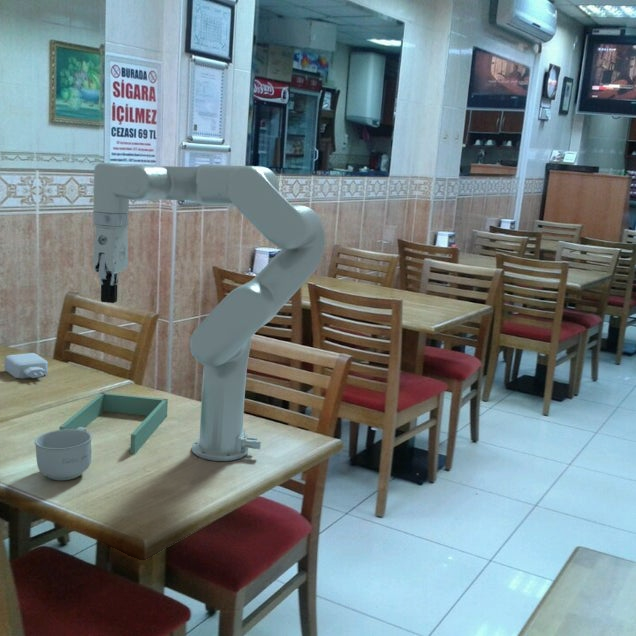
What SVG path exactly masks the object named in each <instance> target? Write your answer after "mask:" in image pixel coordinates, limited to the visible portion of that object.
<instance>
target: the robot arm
mask: <svg viewBox="0 0 636 636" xmlns="http://www.w3.org/2000/svg"><path fill="white" fill-rule="evenodd" d="M279 185H280V184H279V180H278V177H277V176H276V174H275V173H274V172H273V170H272V169H270V168H268V167H265V166H261V165H256V166H255V165H231V164H230V165H227V164H225V165H224V164H222V165H221V164H200V165H197V166H173V165H171V166H169V165H168V166H167V165H152V164H151V165H149V164H144V165H143V164H142V165H141V164H139V165H125V164H121V163H112V162H99V163H97V164H96V165H95V167H94V169H93V207H92V208H93V211H92V212H93V213H92V214H93V215H92V217H93V218H92V226H93V227H95V231H94V232H95V233H94V243H93V256H92V257H93V261H92V263H93V270H94V271H95V272H96V273H98V279H99V280H100V301H101V303H108V304H114V303H116V302H118V283H119V274H120V273H121V272H123V271H125V270H127V269H128V267H129V240H128V239H129V238H128V228H129V217H130V216H129V211H130V207H129V206H130V200H131V201H136V202H141V201H142V202H145V201H161V200H163V201H167V200H168V201H189V202H196V203H198V204H200V205H203V206H218V207H219V206H221V207H223V206H224V207H235V208H236V209H237V210H238V211H239V212H240V213H241V214H242V215H243V216H244V217H245V218H246V219H247V220H248V221H249V222H250V224H251V225H252V226H254V228H255V229H256V230H258V232H259V233H260V234H261V235H262V236H263V237H264V238H265V239H266V240H267V241H268V242H270V243H271V244H272V245H273V246H275V247H276V248H279V249H280V250H279V251H278V253H277V254H276V255H275V256H274V257H273V258H272V259H271V260H269V262H268V263H267V264H266V265H265V267H263V269H262V270H261V271H259V273H257V274H256V275H255V277H253V278H252V279H251V280H250V281H247V282H245V283H243V284H242V285H240V286H238V287H236V288H234V289H232V290H231V291H230V292H229V293H228V294H227V295H226V296H225V297H224V298H223V299H221V301H220V302H219V303H218V304H217V305H216V306H215V307H214V308H213V309H212V310H211V311H210V312H209V314H208V315H207V316H206V317H205V318H204V319H203V320H202V321H201V322H200V323H199V324H198V325H197V327H196V328H195V329H194V331H193V332H192V334H191V337H190V343H189V348H190V351H191V354H192V356H193V359H195V360H196V361H197V362H198V363H199V364H201V365H203V371H202V373H203V374H202V385H201V386H202V387H201V402H200V422H199V423H200V424H199V438H198V439H197V440H194V442H193V443H192V447H191V451H192V453H193V454H194V455H196V456H197V457H199V458H201V459H204V460H209V461H215V462H230V461H234V460H235V461H236V460H238V459H242V458H244V457H245V456H246V455H248V453H249V449H252V450H261V447H262V441H261V440H258V437H255V436H248V435H246V429H244V427H243V426H244V413H245V399H246V398H245V396H246V395H245V394H246V386H247V385H246V384H247V383H246V382H247V372H248V370H247V369H248V363H249V356H250V351H251V346H252V345H251V344H252V337H253V335H255V334H256V332H258V330H260V329H261V328H262V327H263V326H265V325H266V324H268V323H269V322H270V321H271V320H273V319H274V318H275V317H276V315H277V314H278V313H279V311H280V310H281V309H282V308H283V307H284V306H285V305H286V304H287V303H288V301H290V299H292V297H294V295H295V294H296V293H297V292H298V291H299V289H300V288H301V287H302V286H303V285H305V283H306V282H307V280H308V279H309V278H310V277H311V276H312V274H314V272H315V270H317V268H318V266H319V264H320V263H321V260H322V258H323V256H324V251H325V246H326V232H325V227H324V224H323V222H322V219H321V218H320V216H319V215H318V214H317V212H316V211H315V210H314V209H312V208H310V207H308V206H304V205H292V204H291V203H290V202H289V201H288V200H287V199H286V198H285V197H284V196H283V195H282V194H281V192H279V191H280V189H279V188H280V186H279Z"/></svg>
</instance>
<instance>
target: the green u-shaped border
mask: <svg viewBox="0 0 636 636" xmlns="http://www.w3.org/2000/svg"><path fill="white" fill-rule="evenodd" d="M168 401H169V399H167V398H158V397H157V398H156V397H149V396H148V397H147V396H138V395H129V394H119V393H109V392H108V393H107V392H100V393H99V394H98V395H97V396H95V397H94V398H93V399H92V400H91V401H89V402H88V403H87V404H86V405H85V406H83V407H82V408H81V409H79V410H78V411H77V412H75V414H74V415H73V414H72V416H70V417H69V418H68V419H67V420H66V421H65V422H63V423H62V424H60V426H59V429H58V430H63V429H77V428H79V427H84V428H86V427H88V426H89V425H90V424H91V423H92V422H93V421H95V419H97V418H98V417H99V416H100V415H101V414H102V413H103V412H108V413H118V414H119V413H120V414H125V415H126V414H129V415H137V416H146V418H145V419H144V420H143V421H141V423H140V424H139V425H138V426H137V427H136V428H134V429H135V430H134V431H132V432H131V434H130V451H129V454H131V455H136V453H137V452H138V451H139V450H140V449H141V448H142V446H143V445H144V444H145V443H146V442H147V441H148V440H149V438H150V437H151V436H152V434H154V433H155V431H156V430H157V429H158V428H159V426H160V425H161V424H162V423H163V422H164V421H165V419H166V418H167V417H168Z"/></svg>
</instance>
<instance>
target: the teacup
mask: <svg viewBox="0 0 636 636" xmlns="http://www.w3.org/2000/svg"><path fill="white" fill-rule="evenodd" d="M92 437H93V436H92V434H91V433H90V432H88V430H87V428H86V427H85V428H84V427H79V428H77V429H63V430H59V429H56V430H52V431H49V432H48V431H47V432H45V433H42V434H40V435H39V436H37V437H36V438H35V439H34V445H35V457H36V463H37V464H36V465H37V467H38V470H39V472H40V474H42V475H44V476H46V477H47V478H49V479H50V480H53V481H68V480H69V481H70V480H73V479H76V478H78V477H79V476H81V475H82V474H83V473H84V472H85V471H87V470H88V468H89V467H90V465H91V462H92Z"/></svg>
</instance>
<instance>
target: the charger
mask: <svg viewBox="0 0 636 636" xmlns="http://www.w3.org/2000/svg"><path fill="white" fill-rule="evenodd" d="M3 360H4V361H3V362H4V367H3V368H4V370H5V371H6V372H7V373H8V374H10V375H11V376H13V378H15V379H16V378H23V379H30V378H29V377H31V378H32V379H35V378H41V377H45V376H47V375H48V373H49V372H48V371H49V369H48V368H49V362H48V361H47V360H46V359H44V358H43V357H41V356H40V355H38V354H36V353H34V352H29V353H28V352H27V353H18V354H9V355H6V356H5V357H4V359H3ZM44 375H45V376H44Z"/></svg>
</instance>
